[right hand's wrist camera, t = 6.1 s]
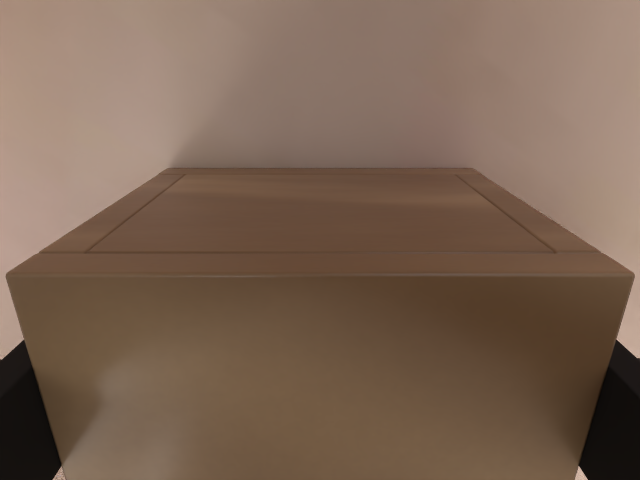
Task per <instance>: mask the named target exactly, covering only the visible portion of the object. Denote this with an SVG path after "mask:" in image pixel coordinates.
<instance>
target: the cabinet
mask: <svg viewBox="0 0 640 480" xmlns="http://www.w3.org/2000/svg"><path fill="white" fill-rule="evenodd" d="M634 278H635V275H634V273H633V272H632V271H630V270H629V269H627V268H625V267H624V266H622V265H621V264H619V263H618V262H616V261H615V260H613V259H612V258H610V257H608V256H607V255H605V254H601V252H600V251H599V250H597V249H596V248H594V247H593V246H591V245H590V244H588V243H587V242H585V241H583V240H582V239H580V238H579V237H577V236H576V235H574V234H573V233H571V232H570V231H568V230H566V229H565V228H563V227H562V226H560V225H559V224H557V223H556V222H554V221H553V220H551V219H549V218H548V217H546V216H545V215H543V214H542V213H540V212H539V211H537V210H536V209H534V208H532V207H531V206H529V205H528V204H526V203H525V202H523V201H522V200H520V199H519V198H517V197H515V196H514V195H512V194H511V193H509V192H508V191H506V190H505V189H503V188H502V187H500V186H498V185H497V184H495V183H494V182H492V181H491V180H489V179H488V178H486V177H485V176H483V175H482V174H481V173H479V172H478V171H476V170H474V169H473V168H167V169H166V170H164V171H163V172H161V173H159V174H158V175H157V176H156V177H154V178H152V179H151V180H149V181H148V182H146V183H145V184H143V185H142V186H140V187H139V188H137V189H135V190H134V191H132V192H131V193H129V194H128V195H126V196H125V197H123V198H122V199H120V200H118V201H117V202H115V203H114V204H112V205H111V206H109V207H108V208H106V209H105V210H103V211H102V212H100V213H98V214H97V215H95V216H94V217H92V218H91V219H89V220H88V221H86V222H85V223H83V224H81V225H80V226H78V227H77V228H75V229H74V230H72V231H71V232H69V233H68V234H66V235H64V236H63V237H61V238H60V239H58V240H57V241H55V242H54V243H52V244H51V245H49V246H48V247H46V248H44V249H43V250H41V251H40V252H39V254H35V255H34V256H32V257H31V258H29V259H27V260H26V261H24V262H23V263H21V264H20V265H18V266H17V267H15V268H14V269H12V270H11V271H9V272H7V274H6V279H7V283H8V286H9V290H10V293H11V296H12V300H13V303H14V306H15V310H16V313H17V317H18V320H19V323H20V327H21V330H22V333H23V337H24V340H25V344H26V347H27V350H28V354H29V357H30V360H31V364H32V367H33V371H34V374H35V377H36V381H37V384H38V387H39V391H40V394H41V398H42V401H43V404H44V408H45V411H46V414H47V418H48V421H49V425H50V428H51V431H52V435H53V438H54V441H55V445H56V448H57V452H58V455H59V458H60V462H61V465H62V468H63V472H64V475H65V479H66V480H575V477H576V473H577V470H578V466H579V463H580V460H581V456H582V453H583V450H584V446H585V443H586V439H587V436H588V433H589V429H590V426H591V423H592V419H593V416H594V413H595V409H596V406H597V402H598V399H599V396H600V392H601V389H602V386H603V382H604V379H605V375H606V372H607V369H608V365H609V362H610V359H611V355H612V352H613V349H614V345H615V342H616V338H617V335H618V332H619V328H620V325H621V322H622V318H623V315H624V311H625V308H626V305H627V301H628V298H629V295H630V291H631V288H632V284H633V281H634Z"/></svg>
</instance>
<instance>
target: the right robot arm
mask: <svg viewBox="0 0 640 480" xmlns="http://www.w3.org/2000/svg"><path fill="white" fill-rule="evenodd" d="M61 466H62V465H61V462H60V458H59V455H58V452H57V448H56V445H55V441H54V438H53V435H52V431H51V428H50V425H49V421H48V418H47V414H46V411H45V408H44V404H43V401H42V398H41V394H40V391H39V387H38V384H37V381H36V377H35V374H34V371H33V367H32V364H31V360H30V357H29V354H28V350H27V347H26V344H25V340H23V341H22V342H21V343H20V344H19V345H18V346H17V347H15V348H14V349H13V350H12V351H11V352H10V353H9V354H8V355H7V356H6V357H4V358H3V359H2V360H0V480H53V478H54V476H55V475H56V473H57V472H58V470H59V469H60V467H61ZM579 467H580V468H581V470H582V471H583V473H584V474H585V476H586V477H587V479H588V480H640V358H636V357H635V356H634V355H633V354H632V353H631V352H629V351H628V350H627V349H626V348H625V347H624V346H623V345H622V344H621V343H620V342H618V341H617V340H616V342H615V345H614V349H613V352H612V355H611V359H610V362H609V365H608V369H607V372H606V375H605V379H604V382H603V386H602V389H601V392H600V396H599V399H598V402H597V406H596V409H595V413H594V416H593V419H592V423H591V426H590V429H589V433H588V436H587V439H586V443H585V446H584V450H583V453H582V456H581V460H580V463H579Z"/></svg>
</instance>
